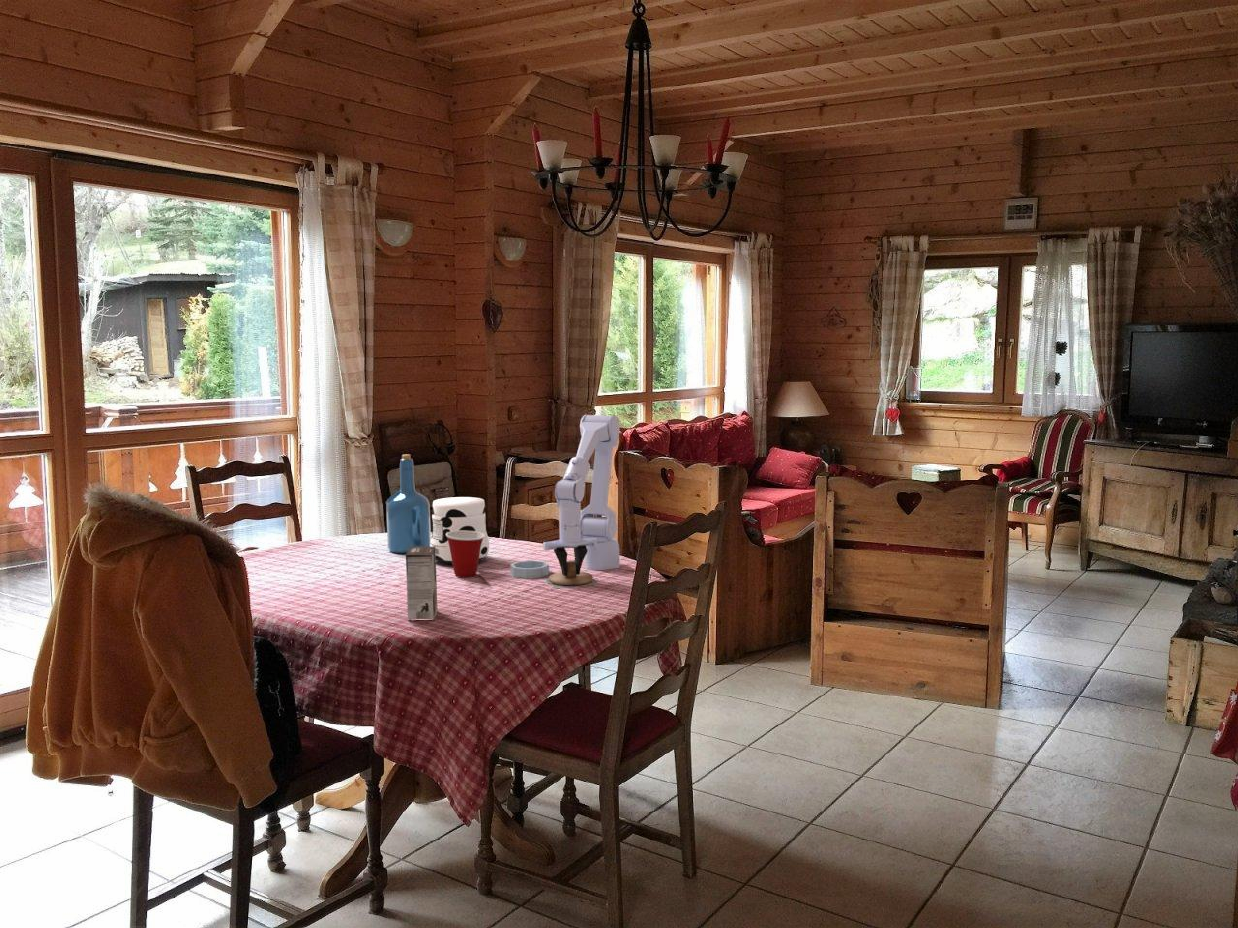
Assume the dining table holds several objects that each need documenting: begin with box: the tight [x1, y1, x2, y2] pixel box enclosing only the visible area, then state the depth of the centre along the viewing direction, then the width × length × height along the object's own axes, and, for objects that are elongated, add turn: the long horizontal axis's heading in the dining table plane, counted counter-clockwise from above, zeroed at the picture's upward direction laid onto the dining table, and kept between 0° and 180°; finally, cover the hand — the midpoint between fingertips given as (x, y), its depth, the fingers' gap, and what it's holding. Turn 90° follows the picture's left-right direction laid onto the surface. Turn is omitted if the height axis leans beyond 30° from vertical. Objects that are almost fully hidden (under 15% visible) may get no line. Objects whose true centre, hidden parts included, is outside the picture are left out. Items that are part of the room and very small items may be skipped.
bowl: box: [509, 559, 550, 579], centre depth 282 cm, size 10×10×4 cm
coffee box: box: [405, 546, 439, 620], centre depth 244 cm, size 9×6×16 cm
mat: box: [542, 577, 600, 589], centre depth 274 cm, size 12×12×1 cm
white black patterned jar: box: [430, 496, 490, 565], centre depth 302 cm, size 17×17×18 cm
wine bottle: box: [385, 453, 432, 555], centre depth 317 cm, size 14×13×30 cm
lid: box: [548, 560, 594, 585], centre depth 273 cm, size 12×12×5 cm
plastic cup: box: [446, 530, 485, 578], centre depth 284 cm, size 11×11×12 cm
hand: (570, 574), depth 273 cm, fingers closed on lid, 3 cm apart
